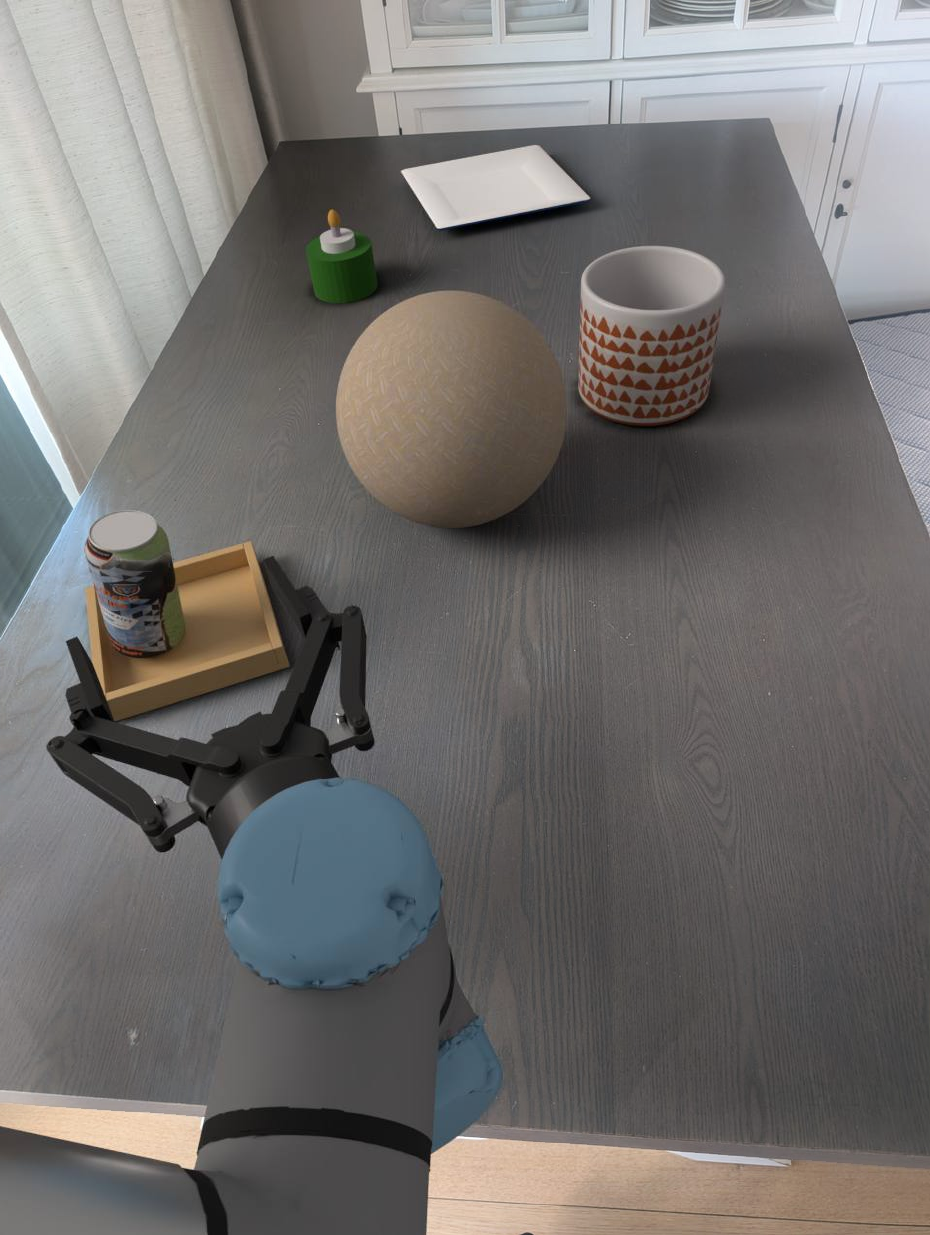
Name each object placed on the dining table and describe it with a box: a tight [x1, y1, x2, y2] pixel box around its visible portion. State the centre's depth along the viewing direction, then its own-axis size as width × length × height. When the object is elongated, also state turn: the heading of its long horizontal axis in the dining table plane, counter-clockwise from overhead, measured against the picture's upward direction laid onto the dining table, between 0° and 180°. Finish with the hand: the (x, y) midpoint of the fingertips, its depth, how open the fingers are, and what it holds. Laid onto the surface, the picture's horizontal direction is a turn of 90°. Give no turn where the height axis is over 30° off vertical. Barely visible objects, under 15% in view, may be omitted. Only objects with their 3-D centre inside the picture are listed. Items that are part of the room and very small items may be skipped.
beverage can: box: [84, 509, 185, 658], centre depth 71 cm, size 6×7×12 cm
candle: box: [305, 209, 378, 304], centre depth 113 cm, size 8×8×10 cm
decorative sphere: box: [335, 290, 568, 529], centre depth 78 cm, size 20×20×20 cm
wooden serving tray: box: [84, 540, 290, 722], centre depth 75 cm, size 15×14×3 cm
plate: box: [400, 144, 591, 231], centre depth 132 cm, size 22×22×2 cm
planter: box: [578, 245, 726, 427], centre depth 91 cm, size 14×14×13 cm
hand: (178, 610), depth 60 cm, fingers open, 13 cm apart
